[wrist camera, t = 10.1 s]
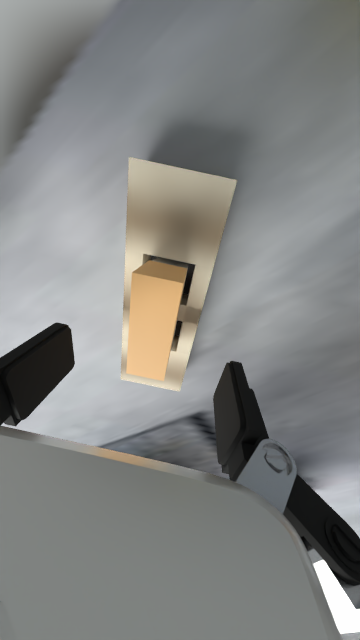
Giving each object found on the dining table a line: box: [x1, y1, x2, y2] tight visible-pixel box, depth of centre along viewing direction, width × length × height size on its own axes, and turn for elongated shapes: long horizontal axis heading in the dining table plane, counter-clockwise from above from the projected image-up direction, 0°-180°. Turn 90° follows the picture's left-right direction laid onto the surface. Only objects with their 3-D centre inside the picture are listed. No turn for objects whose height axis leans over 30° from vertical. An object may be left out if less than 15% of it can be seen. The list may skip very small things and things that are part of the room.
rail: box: [121, 157, 237, 392], centre depth 17 cm, size 20×7×3 cm, turn 170°
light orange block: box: [126, 257, 189, 381], centre depth 15 cm, size 8×3×8 cm, turn 170°
